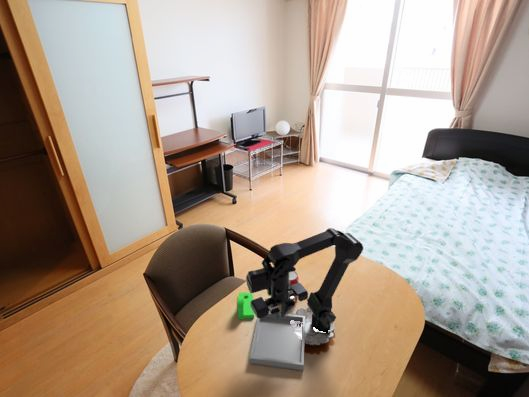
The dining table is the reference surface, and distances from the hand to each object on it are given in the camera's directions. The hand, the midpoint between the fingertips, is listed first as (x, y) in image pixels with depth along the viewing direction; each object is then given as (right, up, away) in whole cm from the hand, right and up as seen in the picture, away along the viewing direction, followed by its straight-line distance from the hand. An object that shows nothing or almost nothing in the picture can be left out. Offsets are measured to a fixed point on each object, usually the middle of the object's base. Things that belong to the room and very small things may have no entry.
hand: (279, 317), depth 99 cm
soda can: (+5, -2, +23) cm, 24 cm away
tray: (0, -11, +5) cm, 12 cm away
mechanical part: (-12, -4, +20) cm, 24 cm away
